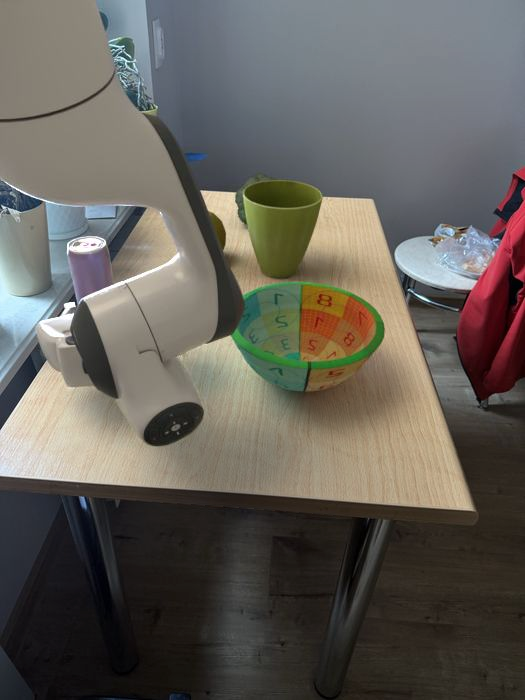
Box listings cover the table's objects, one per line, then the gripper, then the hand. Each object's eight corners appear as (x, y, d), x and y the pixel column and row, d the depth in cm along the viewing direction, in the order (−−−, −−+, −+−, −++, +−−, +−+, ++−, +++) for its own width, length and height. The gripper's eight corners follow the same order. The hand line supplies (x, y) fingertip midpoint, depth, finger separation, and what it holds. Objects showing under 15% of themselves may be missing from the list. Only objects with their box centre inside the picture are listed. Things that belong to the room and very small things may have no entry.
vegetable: (284, 200, 135) (304, 192, 120) (256, 242, 134) (273, 239, 120) (246, 170, 131) (261, 158, 117) (217, 213, 131) (229, 206, 116)
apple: (189, 246, 116) (187, 197, 109) (232, 252, 114) (232, 203, 108) (172, 266, 108) (168, 215, 102) (217, 273, 106) (216, 221, 100)
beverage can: (115, 339, 85) (101, 253, 76) (78, 337, 85) (60, 252, 76) (123, 319, 90) (111, 236, 81) (88, 317, 90) (72, 235, 81)
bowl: (243, 325, 91) (243, 273, 85) (374, 341, 88) (384, 289, 82) (210, 412, 73) (208, 354, 67) (374, 436, 70) (386, 377, 64)
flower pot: (323, 286, 103) (331, 206, 94) (247, 290, 101) (248, 209, 92) (306, 252, 115) (312, 179, 106) (238, 255, 113) (238, 180, 104)
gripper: (205, 310, 70) (168, 266, 80) (43, 350, 62) (24, 296, 72) (206, 348, 74) (171, 302, 83) (54, 391, 65) (35, 334, 75)
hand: (102, 299), depth 77 cm, fingers open, 8 cm apart
